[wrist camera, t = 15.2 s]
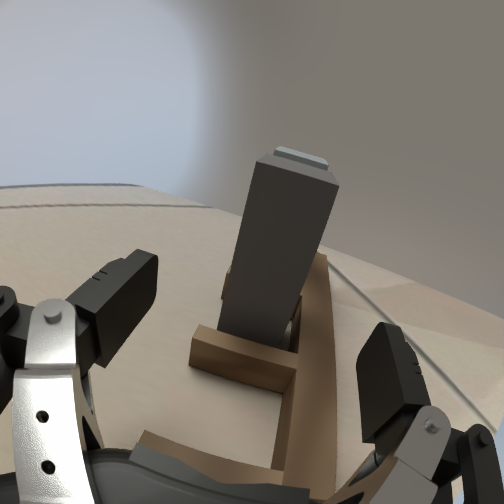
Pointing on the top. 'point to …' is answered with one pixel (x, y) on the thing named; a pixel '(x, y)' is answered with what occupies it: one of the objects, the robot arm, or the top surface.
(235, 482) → the cable comb
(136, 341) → the top surface
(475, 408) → the top surface
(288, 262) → the grey tall rectangular block
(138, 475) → the robot arm
